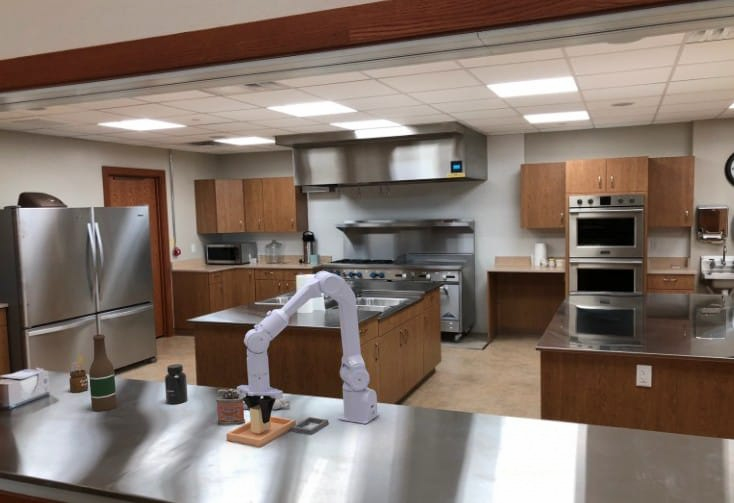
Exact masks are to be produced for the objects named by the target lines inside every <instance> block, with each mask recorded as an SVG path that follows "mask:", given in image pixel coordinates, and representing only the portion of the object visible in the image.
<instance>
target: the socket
mask: <svg viewBox="0 0 734 503" xmlns="http://www.w3.org/2000/svg"><path fill="white" fill-rule="evenodd" d="M310 423H313V424H317V425H314V426H313V427H312V428H305V426H306V425H308V424H310ZM328 425H329V419H324V418H320V417H319V418H318V417H313V416H308V417H306V418H305V419H303V420H301V421H299V422H298V423H296V425H294V426H293V427H292V429H291V432H294V433H300V434H304V435H311V436H312V435H313V434H316V433H317V432H318V431H320V430H321V429H323V428H325V427H327V426H328Z"/></svg>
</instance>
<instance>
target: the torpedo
mask: <svg viewBox="0 0 734 503" xmlns="http://www.w3.org/2000/svg"><path fill="white" fill-rule="evenodd" d="M290 403H291V402H290V400H289V399H287V400H286V399H279V400H276V401H275V403H274V405H273V408H272V411H273V410H274V411H275V410H279V409H281V408H285V409H286V408H291V404H290ZM243 409H244V410H249V409H248V407H247V405H246V404H245V402H244V401H243Z"/></svg>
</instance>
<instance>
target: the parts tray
mask: <svg viewBox="0 0 734 503" xmlns="http://www.w3.org/2000/svg"><path fill="white" fill-rule="evenodd" d="M296 424H297V423H296V420H295V419H291V418H285V417H280V416H279V417H278V416H275V415H274V416H273V415H271V428H269V429H267V430H265V431H263V432H261V433H255V432H251V422H250V421H248V422H245V423H244V424H241V425H240V426H239V427H236V428H235V429H233V430H230V431H229V432H226V434H225V436H226V442H231V443H236V444H240V445H245V446H251V447H255V448H262V447H264V446H266V445H268V444H270V443H271V442H273V441H274V440H276V439H278V438H279V437H281V436H283V435H284V434H286V433H289V432H290V431H292V427H293V426H294V425H296Z"/></svg>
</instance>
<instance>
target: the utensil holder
mask: <svg viewBox="0 0 734 503" xmlns="http://www.w3.org/2000/svg"><path fill="white" fill-rule="evenodd" d="M74 364H76V361H74V362H72V364H71V365H70V366H71V368H75V367H76V370H75V369H73V370H71V372H69V377H70V378H69V380H68V381H69V390H70V392H71V393H73V394H77V393H83V392H86V391H88V390H89V378H88V376H87V371H86V370H85V369H81V366H82V365H83V356H82V355H78V356H77V366H75V367H74ZM77 367H78V369H77Z"/></svg>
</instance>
